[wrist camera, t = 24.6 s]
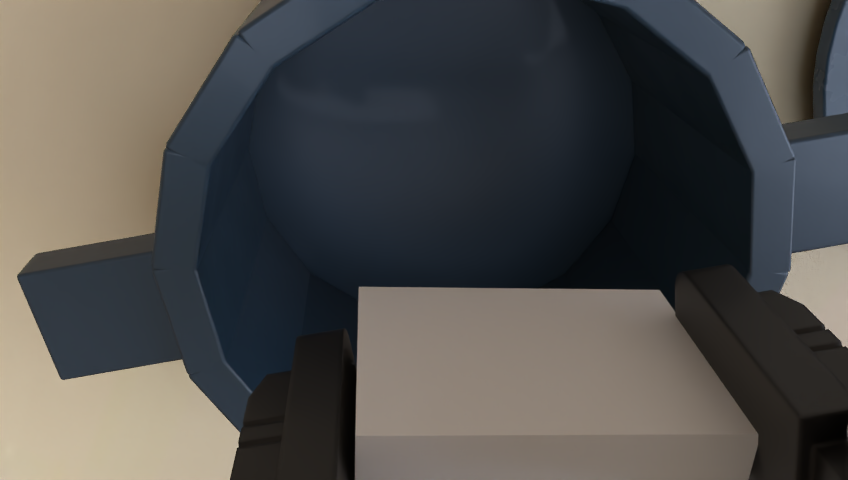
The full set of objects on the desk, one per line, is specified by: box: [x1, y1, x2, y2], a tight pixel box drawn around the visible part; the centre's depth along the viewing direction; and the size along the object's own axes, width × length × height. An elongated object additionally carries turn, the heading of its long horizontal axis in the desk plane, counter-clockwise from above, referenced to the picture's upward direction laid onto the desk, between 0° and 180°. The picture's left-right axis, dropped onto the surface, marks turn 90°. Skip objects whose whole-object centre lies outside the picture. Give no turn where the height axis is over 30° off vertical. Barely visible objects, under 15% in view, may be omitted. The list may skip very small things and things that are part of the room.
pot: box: [17, 0, 848, 433], centre depth 18 cm, size 12×17×7 cm
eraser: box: [355, 287, 758, 480], centre depth 11 cm, size 1×5×4 cm, turn 87°
